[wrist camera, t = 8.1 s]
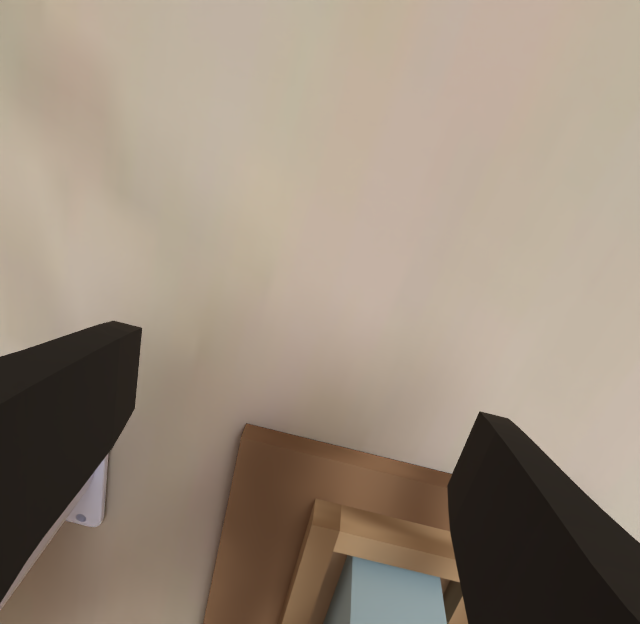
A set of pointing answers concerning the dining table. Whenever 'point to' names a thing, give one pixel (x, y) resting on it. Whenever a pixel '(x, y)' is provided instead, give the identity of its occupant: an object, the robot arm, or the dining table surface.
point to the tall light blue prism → (385, 595)
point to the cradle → (323, 528)
